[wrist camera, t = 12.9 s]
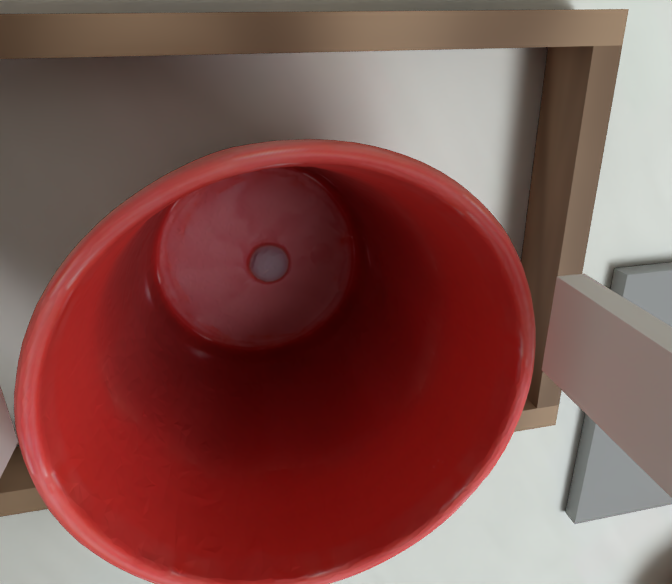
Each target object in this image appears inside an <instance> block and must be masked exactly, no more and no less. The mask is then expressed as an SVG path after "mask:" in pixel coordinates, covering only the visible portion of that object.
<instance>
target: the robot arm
mask: <svg viewBox="0 0 672 584" xmlns="http://www.w3.org/2000/svg"><path fill="white" fill-rule="evenodd" d="M542 371H543V372H544V373H545V374H546V375H547V376H548V377H549V378H550V379H551V380H552V381H553V382H554V383H555V384H556V385H557V386H558V387H559V388H560V389H561V390H562V391H563V392H564V393H565V394H566V395H567V396H568V397H569V398H570V399H571V400H572V401H573V402H574V403H575V404H577V405H578V406H579V407H580V408H581V409H582V410H583V411H584V412H585V413H586V414H587V415H588V416H589V417H590V418H591V419H592V420H593V421H594V422H595V423H596V424H597V425H598V426H599V427H600V428H601V429H602V430H603V431H604V432H605V433H606V434H607V435H608V436H609V437H610V438H611V439H612V440H613V441H614V442H615V443H616V444H617V445H618V446H619V447H620V448H621V449H622V450H623V451H624V452H625V453H626V454H627V455H628V456H629V457H630V458H631V459H632V460H633V461H634V462H635V463H636V464H638V465H639V466H640V467H641V468H642V469H643V470H644V471H645V472H646V473H647V474H648V475H649V476H650V477H651V478H652V479H653V480H654V481H655V482H656V483H657V484H658V485H659V486H660V487H661V488H662V489H663V490H664V491H665V492H666V493H667V494H668V495H669V496H670V497H671V498H672V327H671V326H669V325H668V324H666V323H664V322H663V321H661V320H659V319H658V318H656V317H655V316H653V315H651V314H650V313H648V312H646V311H645V310H643V309H641V308H640V307H638V306H637V305H635V304H633V303H632V302H630V301H628V300H627V299H625V298H623V297H622V296H620V295H619V294H617V293H615V292H614V291H612V290H610V289H609V288H607V287H605V286H604V285H602V284H600V283H599V282H597V281H596V280H594V279H592V278H591V277H589V276H587V275H586V274H577V275H567V276H557V279H556V285H555V291H554V297H553V304H552V310H551V316H550V322H549V328H548V334H547V340H546V346H545V352H544V358H543V365H542ZM17 443H18V439H17V436H16V433H15V430H14V427H13V424H12V421H11V418H10V415H9V411H8V408H7V405H6V402H5V399H4V396H3V393H2V390H1V387H0V478H1V476H2V474H3V472H4V470H5V468H6V466H7V464H8V462H9V460H10V458H11V455H12V453H13V451H14V449H15V447H16V445H17Z"/></svg>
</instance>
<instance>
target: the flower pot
mask: <svg viewBox="0 0 672 584" xmlns="http://www.w3.org/2000/svg"><path fill="white" fill-rule="evenodd" d="M535 347H536V327H535V317H534V309H533V303H532V297H531V292H530V288H529V285H528V282H527V278H526V275H525V272H524V268H523V266H522V263H521V261H520V258H519V256H518V254H517V252H516V250H515V248H514V246H513V244H512V242H511V240H510V238H509V236H508V235H507V233H506V232H505V230H504V229H503V227H502V226H501V224H500V223H499V222H498V221H497V220H496V218H495V217H494V216H493V215H492V213H491V212H490V211H489V210H488V209H487V208H486V207H485V206H484V205H483V204H482V203H481V202H480V201H479V200H478V199H477V198H476V197H475V196H473V195H472V194H471V193H470V192H469V191H468V190H466V189H465V188H464V187H463V186H462V185H460V184H459V183H457V182H456V181H455V180H453V179H452V178H450V177H448V176H447V175H445V174H444V173H442V172H441V171H439V170H437V169H435V168H433V167H431V166H429V165H427V164H425V163H423V162H421V161H418V160H416V159H413V158H411V157H408V156H406V155H403V154H399V153H396V152H393V151H390V150H387V149H383V148H379V147H375V146H371V145H365V144H360V143H355V142H345V141H336V140H320V139H301V140H279V141H270V142H262V143H254V144H248V145H242V146H237V147H232V148H228V149H224V150H221V151H218V152H215V153H212V154H209V155H207V156H204V157H202V158H199V159H197V160H194V161H192V162H190V163H188V164H186V165H184V166H182V167H180V168H178V169H176V170H174V171H172V172H170V173H168V174H166V175H164V176H163V177H161V178H159V179H157V180H156V181H154V182H152V183H151V184H149V185H148V186H146V187H144V188H143V189H142V190H140V191H139V192H137V193H136V194H134V195H133V196H131V197H130V198H129V199H127V200H126V201H124V202H123V203H122V204H120V205H119V206H118V207H116V208H115V209H114V210H112V211H111V212H110V213H109V214H108V215H107V216H106V217H105V218H103V219H102V220H101V221H100V222H99V223H98V224H97V225H96V226H95V227H94V228H93V229H92V230H91V231H90V232H89V233H88V234H87V235H86V236H85V237H84V238H83V239H82V240H81V241H80V242H79V243H78V244H77V245H76V247H75V248H74V249H73V250H72V251H71V252H70V253H69V255H68V256H67V257H66V259H65V260H64V261H63V263H62V264H61V265H60V267H59V268H58V269H57V271H56V272H55V274H54V275H53V277H52V279H51V280H50V282H49V283H48V285H47V287H46V289H45V290H44V292H43V294H42V296H41V298H40V300H39V301H38V303H37V305H36V307H35V310H34V312H33V315H32V317H31V320H30V322H29V325H28V328H27V331H26V334H25V337H24V339H23V342H22V347H21V352H20V356H19V361H18V367H17V375H16V383H15V391H14V414H15V426H16V432H17V437H18V442H19V446H20V449H21V453H22V456H23V459H24V462H25V464H26V467H27V470H28V472H29V474H30V477H31V479H32V481H33V483H34V485H35V487H36V489H37V491H38V493H39V495H40V496H41V498H42V500H43V501H44V503H45V504H46V506H47V508H48V509H49V511H50V512H51V513H52V514H53V515H54V517H55V518H56V519H57V520H58V521H59V523H60V524H61V525H62V526H63V527H64V528H65V529H66V530H67V531H68V532H69V533H70V534H71V535H72V536H73V537H74V538H75V539H76V540H77V541H78V542H79V543H81V544H82V545H84V546H85V547H86V548H88V549H89V550H90V551H92V552H93V553H95V554H96V555H98V556H99V557H101V558H102V559H104V560H105V561H107V562H109V563H110V564H112V565H114V566H116V567H118V568H120V569H122V570H124V571H126V572H128V573H130V574H132V575H134V576H137V577H139V578H142V579H144V580H147V581H149V582H152V583H155V584H330V583H333V582H336V581H339V580H343V579H345V578H348V577H351V576H353V575H356V574H358V573H361V572H363V571H365V570H368V569H370V568H372V567H374V566H376V565H378V564H380V563H382V562H384V561H386V560H388V559H390V558H392V557H394V556H396V555H397V554H399V553H401V552H402V551H404V550H406V549H407V548H409V547H410V546H412V545H413V544H415V543H416V542H418V541H419V540H421V539H422V538H424V537H425V536H427V535H428V534H429V533H431V532H432V531H433V530H434V529H436V528H437V527H438V526H440V525H441V524H442V523H443V522H444V521H446V520H447V519H448V518H449V517H450V516H451V515H452V514H453V513H454V512H455V511H456V510H457V509H458V508H459V507H460V506H461V505H462V504H463V503H464V502H465V501H466V500H467V499H468V498H469V497H470V495H471V494H472V493H473V492H474V491H475V490H476V489H477V488H478V486H479V485H480V484H481V483H482V481H483V480H484V479H485V478H486V477H487V476H488V475H489V473H490V472H491V470H492V469H493V467H494V466H495V465H496V463H497V461H498V460H499V458H500V456H501V455H502V453H503V452H504V450H505V448H506V446H507V444H508V443H509V441H510V439H511V436H512V434H513V432H514V430H515V428H516V426H517V424H518V421H519V419H520V416H521V414H522V411H523V408H524V405H525V402H526V399H527V395H528V392H529V388H530V384H531V379H532V374H533V368H534V359H535Z"/></svg>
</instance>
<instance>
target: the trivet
mask: <svg viewBox="0 0 672 584" xmlns="http://www.w3.org/2000/svg"><path fill="white" fill-rule="evenodd" d="M610 290H612V291H614V292H615V293H617V294H619V295H620V296H622V297H623V298H625V299H627V300H628V301H630V302H632V303H633V304H635V305H637V306H638V307H640V308H641V309H643V310H645V311H646V312H648V313H650V314H651V315H653V316H655V317H656V318H658V319H659V320H661V321H663V322H664V323H666V324H668V325H669V326H671V327H672V262H668V263H659V264H649V265H640V266H631V267H622V268H615V269H614V274H613V279H612V284H611V289H610ZM670 504H672V498H671V497H670V496H669V495H668V494H667V493H666V492H665V491H664V490H663V489H662V488H661V487H660V486H659V485H658V484H657V483H656V482H655V481H654V480H653V479H652V478H651V477H650V476H649V475H648V474H647V473H646V472H645V471H644V470H643V469H642V468H641V467H640V466H639V465H638V464H636V463H635V462H634V461H633V460H632V459H631V458H630V457H629V456H628V455H627V454H626V453H625V452H624V451H623V450H622V449H621V448H620V447H619V446H618V445H617V444H616V443H615V442H614V441H613V440H612V439H611V438H610V437H609V436H608V435H607V434H606V433H605V432H604V431H603V430H602V429H601V428H600V427H599V426H598V425H597V424H596V423H595V422H594V421H593V420H592V419H591V418H590V417H589V416H588V415H587V414H586V413H585V418H584V423H583V428H582V433H581V438H580V443H579V448H578V453H577V458H576V463H575V468H574V472H573V477H572V482H571V487H570V492H569V497H568V502H567V507H566V514H567V515H568V516H569V518H570V519H571V520H572V521H573V523H574V524H577V523H582V522H587V521H592V520H597V519H602V518H606V517H611V516H616V515H621V514H626V513H631V512H636V511H641V510H646V509H650V508H655V507H660V506H665V505H670Z"/></svg>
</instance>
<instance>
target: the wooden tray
mask: <svg viewBox="0 0 672 584" xmlns="http://www.w3.org/2000/svg"><path fill="white" fill-rule="evenodd" d="M628 10H629V9H601V10H470V11H340V12H209V13H79V14H0V59H24V58H70V57H116V56H162V55H208V54H254V53H300V52H346V51H392V50H438V49H484V48H530V47H548V52H547V60H546V68H545V76H544V83H543V91H542V99H541V107H540V115H539V123H538V131H537V139H536V147H535V155H534V163H533V171H532V179H531V187H530V195H529V203H528V211H527V219H526V226H525V234H524V242H523V250H522V258H521V263H522V266H523V268H524V272H525V275H526V278H527V282H528V285H529V288H530V292H531V297H532V303H533V309H534V317H535V327H536V347H535V359H534V368H533V374H532V379H531V384H530V388H529V392H528V395H527V399H526V402H525V405H524V408H523V411H522V414H521V416H520V419H519V421H518V424H517V426H516V428H515V430H514V432H516V431H522V430H528V429H534V428H540V427H546V426H552V425H555V424H556V419H557V413H558V407H559V402H560V396H561V389H560V388H559V387H558V386H557V385H556V384H555V383H554V382H553V381H552V380H551V379H550V378H549V377H548V376H547V375H546V374H545V373H544V372H543V371H542V365H543V358H544V352H545V346H546V340H547V334H548V328H549V322H550V316H551V310H552V304H553V297H554V291H555V285H556V279H557V276H567V275H577V274H582V271H583V265H584V260H585V254H586V248H587V243H588V237H589V231H590V226H591V220H592V214H593V209H594V203H595V197H596V191H597V186H598V180H599V174H600V169H601V163H602V157H603V152H604V146H605V140H606V135H607V129H608V123H609V118H610V112H611V106H612V101H613V95H614V89H615V84H616V78H617V72H618V67H619V61H620V55H621V49H622V44H623V38H624V32H625V27H626V21H627V15H628ZM43 509H48V508H47V506H46V504H45V503H44V501H43V500H42V498H41V496H40V495H39V493H38V491H37V489H36V487H35V485H34V483H33V481H32V479H31V477H30V474H29V472H28V470H27V467H26V464H25V462H24V459H23V456H22V453H21V449H20V446H18V447H15V449H14V451H13V453H12V455H11V458H10V460H9V462H8V464H7V466H6V468H5V470H4V472H3V474H2V476H1V478H0V517H1V516H7V515H13V514H19V513H25V512H31V511H37V510H43Z"/></svg>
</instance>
